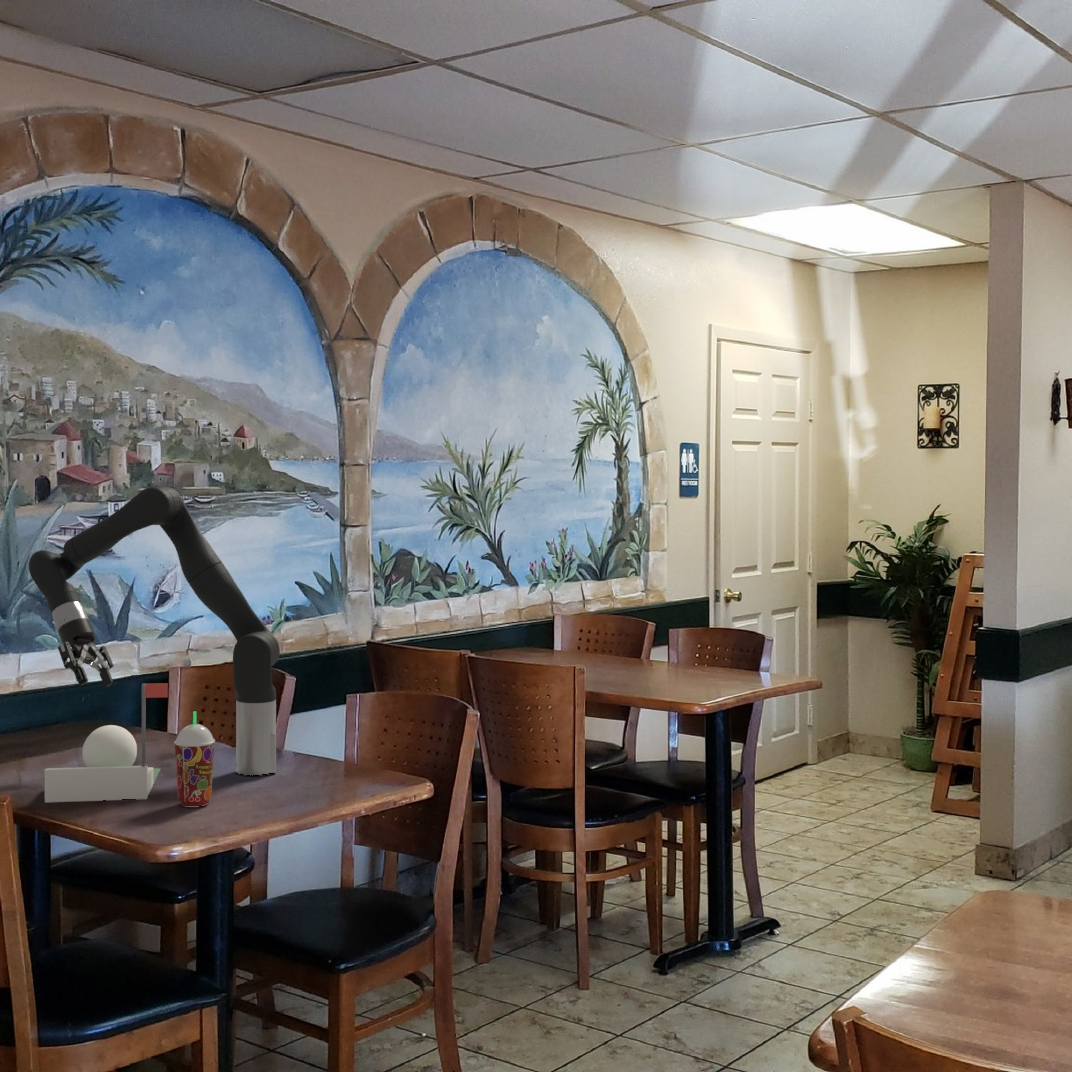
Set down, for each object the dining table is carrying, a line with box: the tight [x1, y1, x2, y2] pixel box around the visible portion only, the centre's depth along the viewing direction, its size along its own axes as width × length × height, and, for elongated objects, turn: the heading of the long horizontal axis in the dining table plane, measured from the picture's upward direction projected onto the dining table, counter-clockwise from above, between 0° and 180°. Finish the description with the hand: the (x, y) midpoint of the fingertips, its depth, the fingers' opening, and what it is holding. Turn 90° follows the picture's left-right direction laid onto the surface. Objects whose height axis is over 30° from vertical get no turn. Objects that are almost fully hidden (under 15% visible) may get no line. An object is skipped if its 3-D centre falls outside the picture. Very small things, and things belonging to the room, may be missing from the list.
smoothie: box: [173, 710, 216, 807], centre depth 274 cm, size 8×8×20 cm
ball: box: [82, 724, 138, 767], centre depth 298 cm, size 12×12×12 cm
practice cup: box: [44, 682, 169, 803], centre depth 292 cm, size 25×30×25 cm
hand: (96, 684), depth 301 cm, fingers open, 8 cm apart
